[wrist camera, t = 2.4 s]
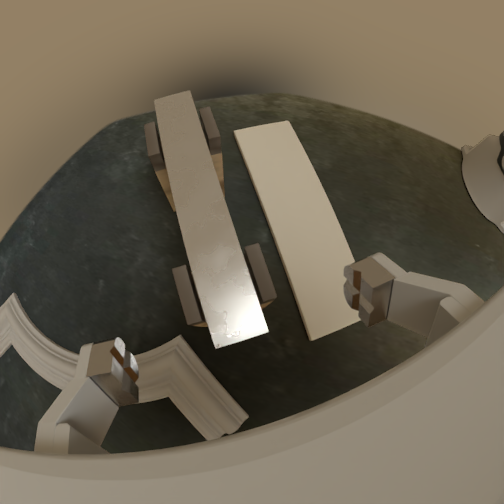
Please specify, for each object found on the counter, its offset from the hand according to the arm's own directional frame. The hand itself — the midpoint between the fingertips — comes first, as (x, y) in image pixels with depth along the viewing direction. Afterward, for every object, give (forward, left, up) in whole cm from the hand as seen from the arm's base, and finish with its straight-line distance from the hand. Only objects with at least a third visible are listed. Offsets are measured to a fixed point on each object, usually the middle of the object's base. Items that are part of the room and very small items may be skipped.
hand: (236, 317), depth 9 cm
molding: (+21, +1, -21) cm, 30 cm away
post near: (0, -3, -21) cm, 21 cm away
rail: (0, -10, -12) cm, 15 cm away
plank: (-11, -10, -21) cm, 25 cm away
